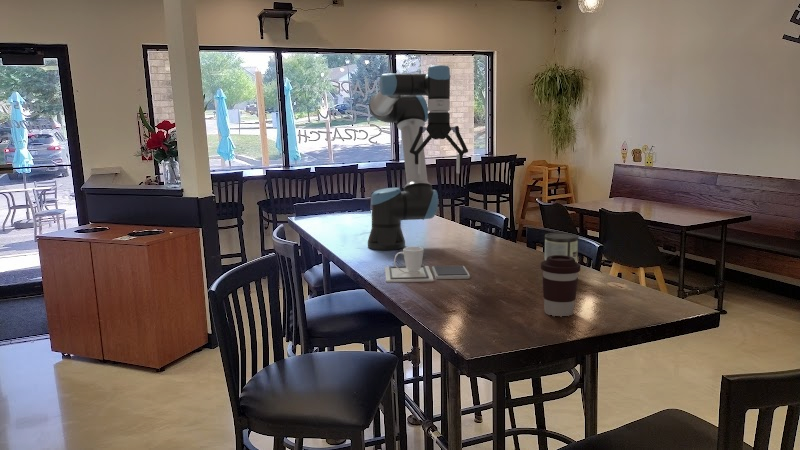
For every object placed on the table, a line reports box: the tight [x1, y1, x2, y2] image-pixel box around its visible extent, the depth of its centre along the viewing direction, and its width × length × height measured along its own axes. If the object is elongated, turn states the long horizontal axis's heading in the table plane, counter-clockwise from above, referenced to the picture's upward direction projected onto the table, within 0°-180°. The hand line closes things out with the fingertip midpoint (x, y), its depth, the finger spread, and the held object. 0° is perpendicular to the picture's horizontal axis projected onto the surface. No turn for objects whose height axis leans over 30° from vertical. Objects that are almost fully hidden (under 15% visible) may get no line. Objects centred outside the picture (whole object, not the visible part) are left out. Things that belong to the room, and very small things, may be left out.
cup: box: [393, 246, 425, 274], centre depth 198 cm, size 7×10×8 cm
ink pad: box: [431, 264, 471, 280], centre depth 199 cm, size 13×11×1 cm
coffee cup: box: [540, 255, 581, 318], centre depth 157 cm, size 10×10×15 cm
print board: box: [384, 265, 434, 283], centre depth 199 cm, size 18×15×1 cm
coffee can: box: [543, 232, 579, 263], centre depth 191 cm, size 10×10×14 cm
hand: (438, 173), depth 211 cm, fingers open, 13 cm apart
